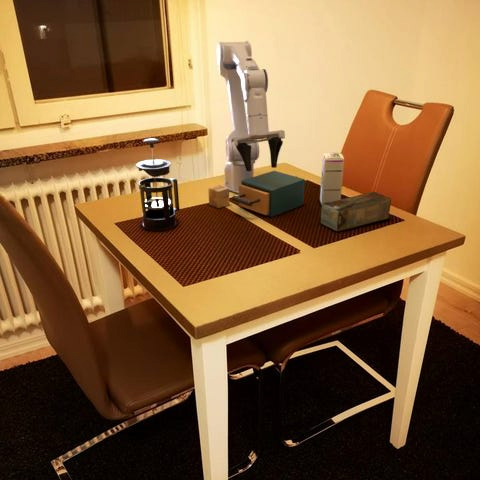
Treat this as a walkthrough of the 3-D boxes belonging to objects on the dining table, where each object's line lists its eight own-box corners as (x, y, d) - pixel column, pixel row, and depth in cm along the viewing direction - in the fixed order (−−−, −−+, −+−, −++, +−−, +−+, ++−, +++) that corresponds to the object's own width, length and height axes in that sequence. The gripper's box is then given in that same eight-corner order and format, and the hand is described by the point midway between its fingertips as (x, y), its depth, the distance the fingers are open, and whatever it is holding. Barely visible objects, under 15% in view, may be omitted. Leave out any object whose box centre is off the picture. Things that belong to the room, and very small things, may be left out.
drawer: (254, 219, 138) (254, 198, 135) (227, 209, 145) (226, 188, 142) (296, 203, 149) (297, 183, 145) (268, 195, 156) (269, 175, 152)
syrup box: (340, 206, 149) (345, 157, 141) (320, 206, 149) (325, 157, 141) (337, 199, 154) (342, 152, 146) (318, 199, 154) (322, 152, 146)
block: (209, 204, 151) (208, 188, 148) (219, 201, 153) (219, 184, 150) (218, 208, 148) (218, 191, 145) (229, 204, 151) (229, 188, 148)
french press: (151, 234, 132) (142, 146, 119) (134, 224, 138) (123, 139, 125) (188, 223, 138) (182, 138, 125) (169, 214, 144) (162, 132, 131)
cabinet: (271, 217, 142) (272, 190, 138) (241, 206, 150) (241, 180, 145) (303, 204, 150) (304, 179, 146) (273, 195, 158) (274, 170, 154)
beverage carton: (318, 222, 138) (320, 200, 135) (371, 211, 146) (374, 189, 142) (336, 232, 132) (338, 209, 129) (390, 219, 140) (394, 197, 136)
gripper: (227, 120, 134) (231, 171, 137) (276, 110, 128) (280, 165, 130) (238, 123, 140) (242, 173, 143) (286, 114, 134) (289, 166, 136)
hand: (261, 169), depth 137 cm, fingers open, 7 cm apart
